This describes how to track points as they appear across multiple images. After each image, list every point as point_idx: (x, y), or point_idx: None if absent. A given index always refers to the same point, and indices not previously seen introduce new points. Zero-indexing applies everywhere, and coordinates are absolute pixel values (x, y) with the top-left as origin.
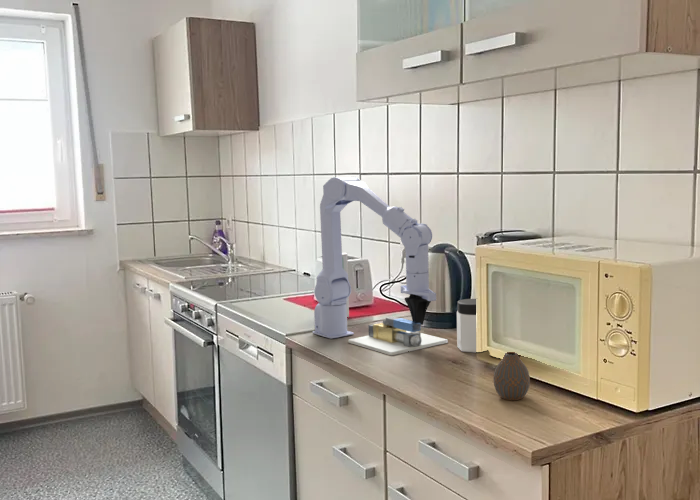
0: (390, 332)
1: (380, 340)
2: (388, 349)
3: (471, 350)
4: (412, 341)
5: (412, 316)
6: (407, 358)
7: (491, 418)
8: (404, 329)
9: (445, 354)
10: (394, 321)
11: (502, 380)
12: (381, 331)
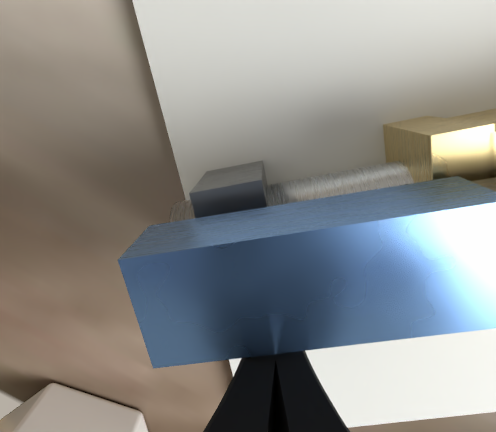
0: (437, 127)
1: None
2: None
3: (12, 414)
4: (182, 203)
5: (297, 395)
6: (20, 49)
7: None
8: (269, 208)
9: (31, 293)
10: (476, 197)
11: None
12: None
